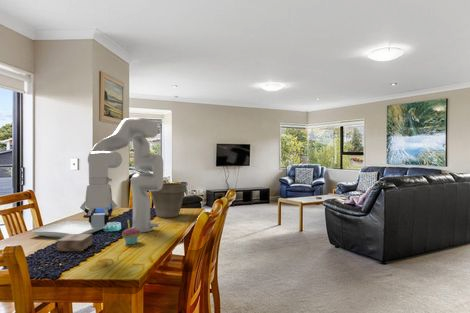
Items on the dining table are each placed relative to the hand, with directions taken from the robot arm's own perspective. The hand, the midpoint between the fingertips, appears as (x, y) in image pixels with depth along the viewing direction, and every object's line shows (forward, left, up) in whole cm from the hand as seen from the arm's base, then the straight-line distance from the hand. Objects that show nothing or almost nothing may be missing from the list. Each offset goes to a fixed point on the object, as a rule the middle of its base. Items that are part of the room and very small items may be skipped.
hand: (99, 223), depth 139 cm
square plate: (+23, -42, -14) cm, 50 cm away
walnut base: (+13, -13, -14) cm, 23 cm away
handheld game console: (+20, -86, -14) cm, 89 cm away
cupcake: (-11, -17, -13) cm, 24 cm away
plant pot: (-26, -82, -13) cm, 87 cm away
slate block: (0, 0, -1) cm, 1 cm away
